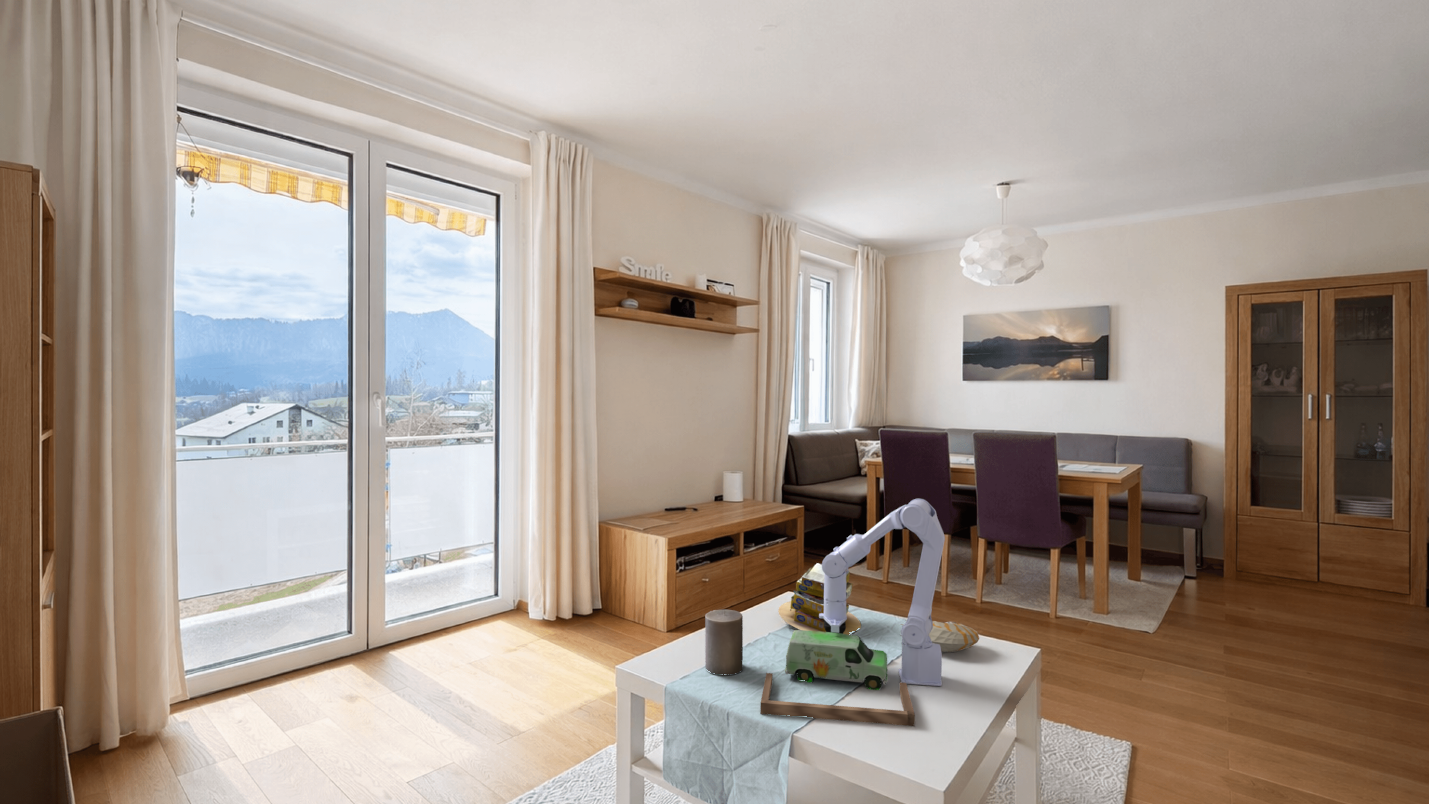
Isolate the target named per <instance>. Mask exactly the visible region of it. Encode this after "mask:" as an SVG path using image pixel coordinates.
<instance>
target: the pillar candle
mask: <svg viewBox="0 0 1429 804" xmlns="http://www.w3.org/2000/svg"><path fill="white" fill-rule="evenodd" d="M704 619H705V620H704V622H705V623H704V625H705V628H704V629H705V631H704V632H705V634H704V635H705V645H704V646H705V648H704V649H705V650H704V651H705V653H704V654H705V658H704V659H705V670H706V669H707V670H708V671H710V672H711V673H715V674H723V675H722V676H725V675H724V674H727V675H726V676H731V675H730V674H734V675H736V674H735V673H737V674H739V672H740V671H741V672H742V671H743V669H744V665H743V659H744V656H743V649H744V648H743V647H744V646H743V645H744V643H743V639H744V637H743V636H744V635H743V633H744V631H743V629H744V627H743V625H744V624H743V621H744V620H743V614H742V613H741V612H740V611H737V610H734V609H733V610H732V609H715V610H714V609H713V610H710V611H709V612H707V613H705V618H704ZM707 670H706V671H707ZM708 671H707V672H708ZM741 672H740V673H741ZM711 673H710V674H711ZM728 674H729V675H728Z"/></svg>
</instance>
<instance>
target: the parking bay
mask: <svg viewBox="0 0 1429 804" xmlns="http://www.w3.org/2000/svg"><path fill="white" fill-rule="evenodd" d="M773 674H774V673H772V672H766V674H765V678H764V682H763V688H762V689H763V690H762V694H761V699H760V709H759V710H760V711H759V713H760V715H767V716H768V714H771V715H770V716H780V715H786V716H785V717H788V716H787V715H790V716H789V717H792V716H807V717H813V718H812V719H817V720H819V719H820V720H833V721H842V722H843V721H845V722H857V723H868V724H878V725H879V724H881V725H893V726H905V727H915V725H916V714H915V711H914V705H913V702H912V699H911V695H910V692H909V688H908V685H907V684H906V683H901V682H899V696H900V700H901V704H902V705H901V706H902V708H903V710H901V709H899V710H898V709H886V708H885V709H883V708H871V707H860V706H859V707H858V706H847V705H833V704H821V703H820V704H819V703H810V702H809V703H808V702H797V701H795V702H794V701H783V700H782V701H781V700H770V699H771V695H772V688H773V681H774V680H773Z"/></svg>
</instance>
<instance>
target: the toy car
mask: <svg viewBox="0 0 1429 804" xmlns="http://www.w3.org/2000/svg"><path fill="white" fill-rule="evenodd" d="M786 650H787V651H786V655H785V668H784V674H785V675H792V676H795V675H796V679H797V681H798V680H805V681H807V682H806V683H811V682H812V683H813V681H814V679H815V678H816V679H825V680H835V681H844V682H853V683H864V687H865V688H866V689H867V690H872V691H880V690H881V689H882V686H883V685H887V683H888V679H889V678H888V677H889V674H888V671H889V670H888V655H887V653H886V652H885V651H884V650H880V649H879V650H878V649H873V648H869V647H868V645H866V644H865V642H864V641H863V640H862V639H861V638H860V637H859V635H855V634H852V635H847V634H841V633H831V632H820V631H805V630H800V629H795V630H793V632H792V635H791V637H790V639H789V642H788V647H787V649H786ZM882 683H883V684H882Z"/></svg>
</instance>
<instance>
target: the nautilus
mask: <svg viewBox="0 0 1429 804" xmlns="http://www.w3.org/2000/svg"><path fill="white" fill-rule="evenodd" d="M906 621H907V619H905V622H906ZM932 622H933V628H932V630H931V632H930V633H929V637H930V639H931V641H932V643H935V644H939V645H940V647H941V653H956V652H959V651H962V650H966V649H968V648H970V647H973V646H974V645H975V644H977V643H978V642H979V640H980V635H979V632H978V631H977V630H975V629H974V628H973V627H970V626H966V625H965V624H963V623H958V622H956V621H938V620H937V621H936V620H932ZM904 624H905V623H904ZM904 624H902V623H901V624H899V625H902V626H903V625H904ZM899 636H901V634H899ZM901 637H902V636H901Z"/></svg>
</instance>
